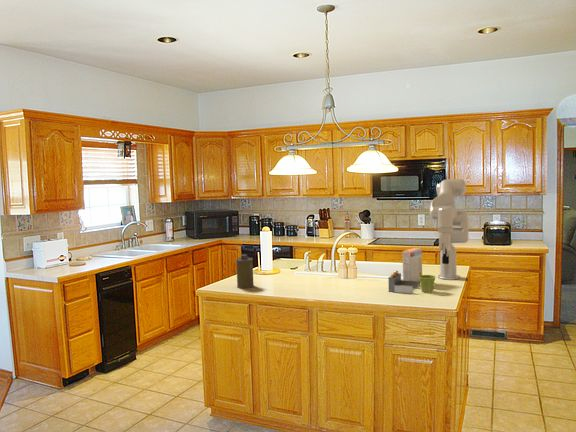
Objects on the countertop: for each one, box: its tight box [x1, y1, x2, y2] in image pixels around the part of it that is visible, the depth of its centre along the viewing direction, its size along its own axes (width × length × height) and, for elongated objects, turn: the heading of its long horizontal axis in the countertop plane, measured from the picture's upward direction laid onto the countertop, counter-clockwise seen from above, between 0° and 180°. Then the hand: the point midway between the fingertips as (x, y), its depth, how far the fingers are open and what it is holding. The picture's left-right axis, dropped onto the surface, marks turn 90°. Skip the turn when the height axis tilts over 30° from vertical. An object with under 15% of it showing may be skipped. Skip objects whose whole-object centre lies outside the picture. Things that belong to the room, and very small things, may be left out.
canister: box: [235, 254, 255, 289], centre depth 292 cm, size 11×10×20 cm
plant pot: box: [418, 274, 437, 294], centre depth 263 cm, size 9×9×9 cm
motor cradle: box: [387, 270, 419, 295], centre depth 269 cm, size 15×14×10 cm
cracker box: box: [401, 247, 423, 284], centre depth 283 cm, size 14×6×21 cm, turn 137°
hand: (445, 263), depth 257 cm, fingers closed
